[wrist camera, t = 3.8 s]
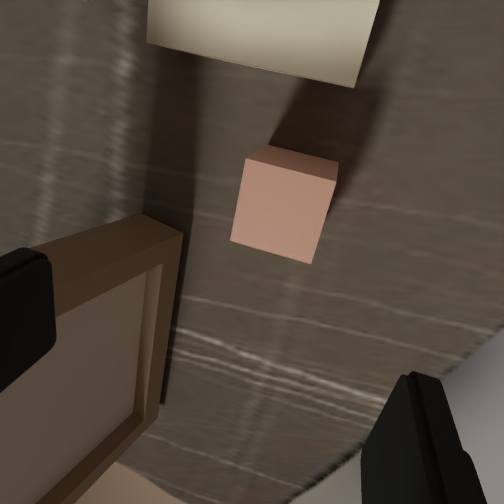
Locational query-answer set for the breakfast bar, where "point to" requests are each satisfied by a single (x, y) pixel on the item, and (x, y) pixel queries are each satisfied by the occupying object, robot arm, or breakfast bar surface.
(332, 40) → the birch block
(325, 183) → the terracotta block
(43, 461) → the photo frame
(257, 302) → the breakfast bar surface
